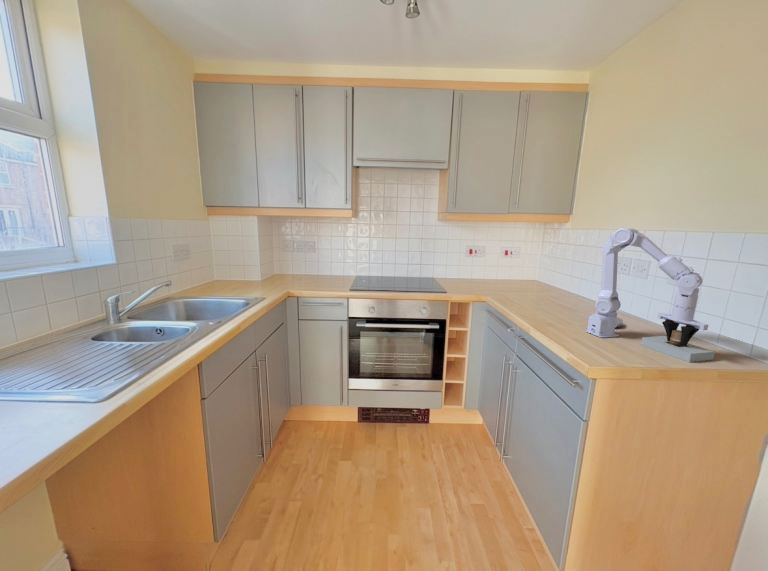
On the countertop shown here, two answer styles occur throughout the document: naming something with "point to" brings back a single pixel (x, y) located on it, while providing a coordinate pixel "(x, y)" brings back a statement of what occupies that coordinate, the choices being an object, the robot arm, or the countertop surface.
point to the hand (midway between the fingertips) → (676, 343)
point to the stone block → (619, 322)
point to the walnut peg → (676, 338)
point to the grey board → (678, 349)
